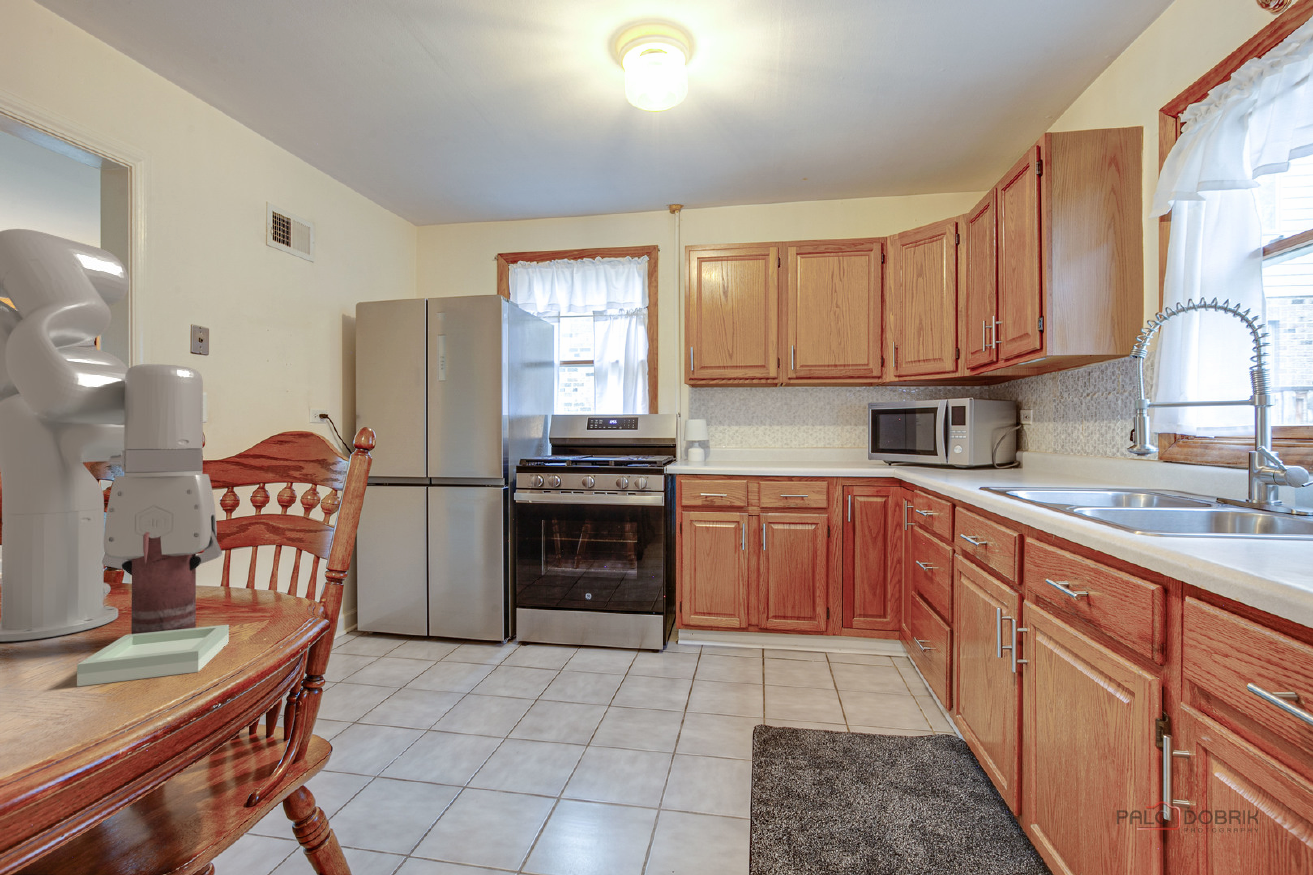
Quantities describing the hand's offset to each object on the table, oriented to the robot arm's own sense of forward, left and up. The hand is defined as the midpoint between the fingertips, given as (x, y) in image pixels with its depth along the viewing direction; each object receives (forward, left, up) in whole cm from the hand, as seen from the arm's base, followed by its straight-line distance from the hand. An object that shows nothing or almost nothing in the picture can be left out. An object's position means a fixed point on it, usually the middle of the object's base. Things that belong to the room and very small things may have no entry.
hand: (163, 610), depth 73 cm
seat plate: (+10, +3, -4) cm, 11 cm away
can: (0, 0, -4) cm, 4 cm away
